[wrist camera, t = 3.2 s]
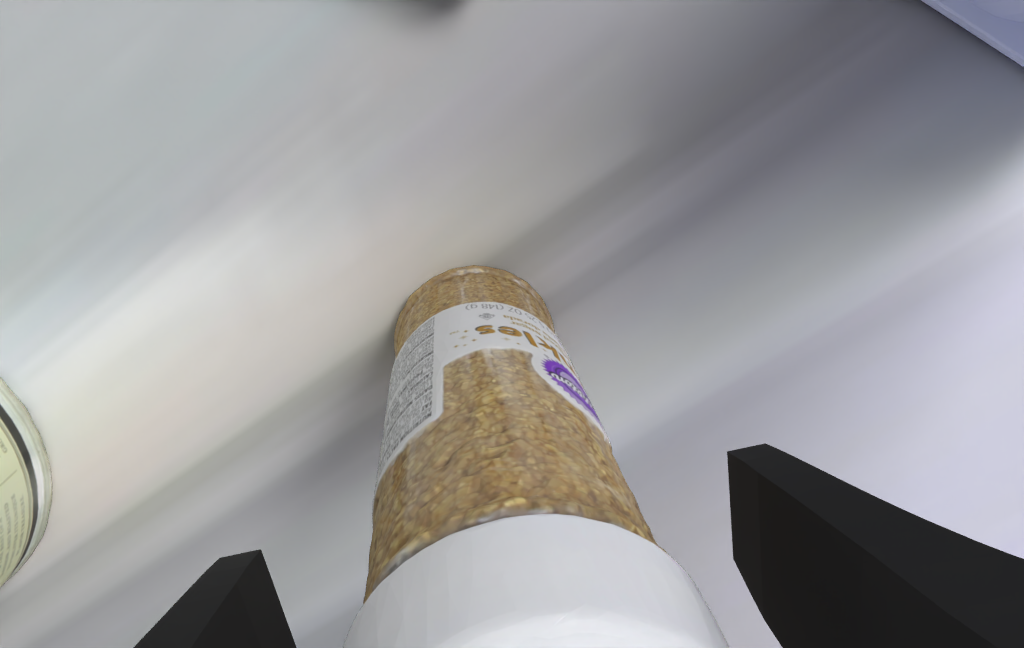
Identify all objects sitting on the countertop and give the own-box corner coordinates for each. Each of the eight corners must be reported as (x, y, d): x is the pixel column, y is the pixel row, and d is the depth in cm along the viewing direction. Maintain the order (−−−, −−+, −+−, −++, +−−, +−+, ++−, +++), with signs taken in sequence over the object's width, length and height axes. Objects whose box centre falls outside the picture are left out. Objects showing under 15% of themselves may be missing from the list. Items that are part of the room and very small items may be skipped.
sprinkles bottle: (581, 311, 19) (877, 740, 7) (497, 435, 20) (611, 1013, 8) (443, 229, 18) (480, 565, 5) (361, 365, 19) (225, 920, 6)
